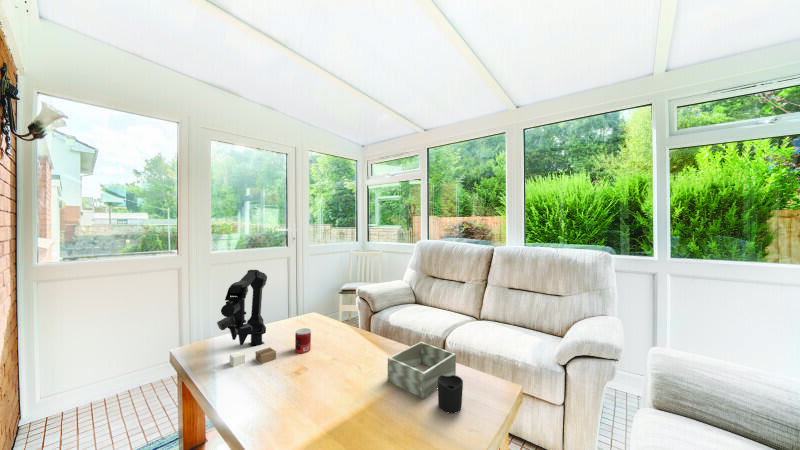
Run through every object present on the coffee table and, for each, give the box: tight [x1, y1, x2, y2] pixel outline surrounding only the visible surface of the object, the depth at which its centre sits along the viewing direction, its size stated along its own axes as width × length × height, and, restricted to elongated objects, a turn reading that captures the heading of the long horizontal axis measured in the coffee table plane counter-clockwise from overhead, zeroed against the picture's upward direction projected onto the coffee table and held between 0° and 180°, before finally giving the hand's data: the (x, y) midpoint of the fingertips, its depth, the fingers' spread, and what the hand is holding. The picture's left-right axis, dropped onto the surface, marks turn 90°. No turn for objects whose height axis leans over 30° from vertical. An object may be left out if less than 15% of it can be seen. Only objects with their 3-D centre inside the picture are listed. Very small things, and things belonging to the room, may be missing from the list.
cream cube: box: [229, 351, 246, 368], centre depth 141 cm, size 5×5×5 cm
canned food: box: [294, 327, 312, 355], centre depth 156 cm, size 8×8×11 cm
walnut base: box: [255, 347, 277, 365], centre depth 146 cm, size 7×7×4 cm
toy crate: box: [387, 341, 457, 400], centre depth 131 cm, size 20×24×10 cm
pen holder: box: [437, 374, 464, 414], centre depth 111 cm, size 9×9×10 cm
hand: (237, 342), depth 141 cm, fingers open, 9 cm apart
